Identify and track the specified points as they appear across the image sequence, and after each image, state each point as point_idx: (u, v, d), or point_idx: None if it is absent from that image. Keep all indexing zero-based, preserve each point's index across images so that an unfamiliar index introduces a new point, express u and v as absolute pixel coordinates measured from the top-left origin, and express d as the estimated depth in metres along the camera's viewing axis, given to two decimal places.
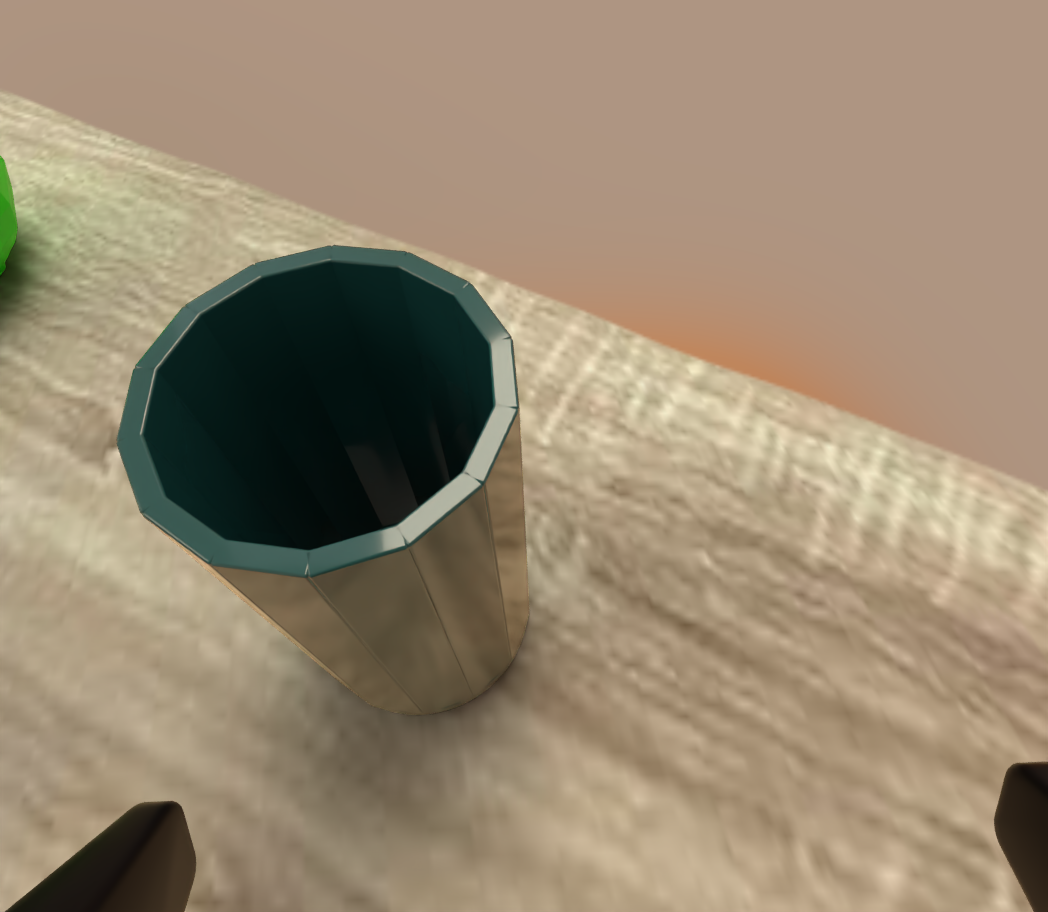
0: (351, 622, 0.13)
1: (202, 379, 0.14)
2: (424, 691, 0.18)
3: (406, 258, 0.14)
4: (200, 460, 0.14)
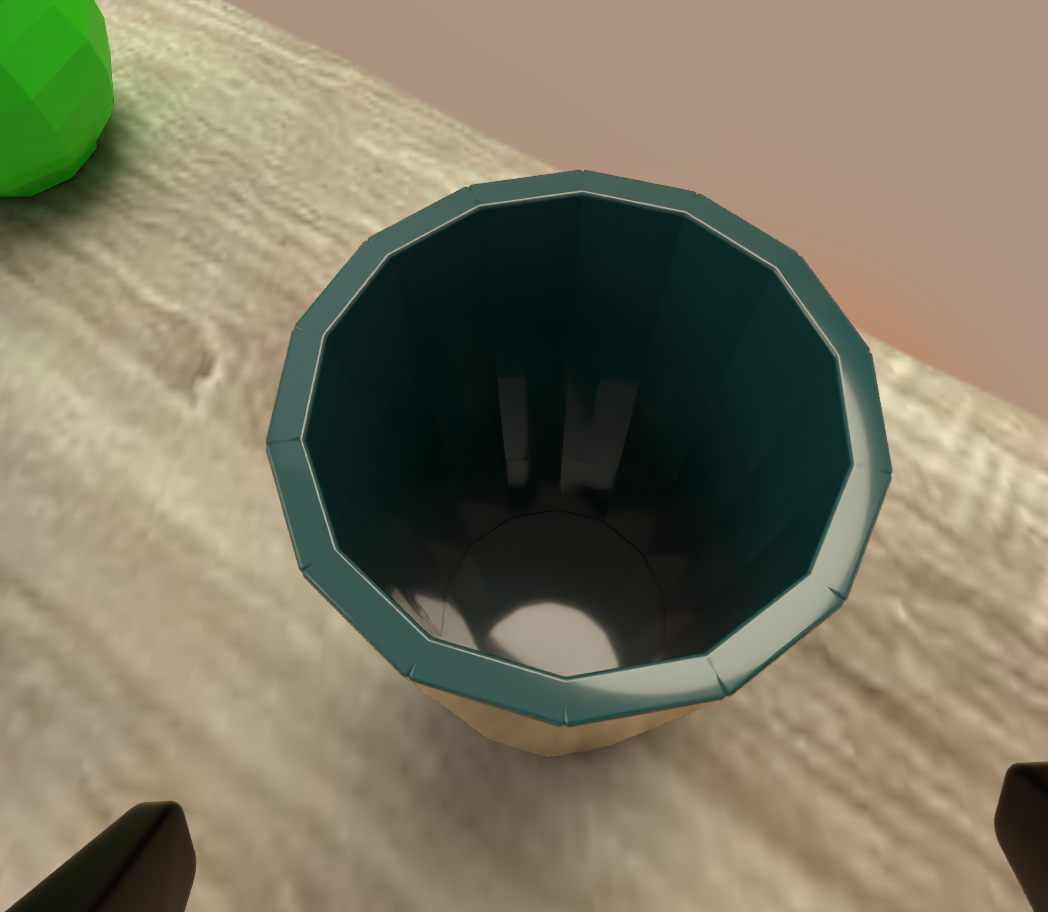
0: (563, 738, 0.09)
1: (375, 348, 0.09)
2: None
3: (696, 203, 0.09)
4: (358, 461, 0.10)
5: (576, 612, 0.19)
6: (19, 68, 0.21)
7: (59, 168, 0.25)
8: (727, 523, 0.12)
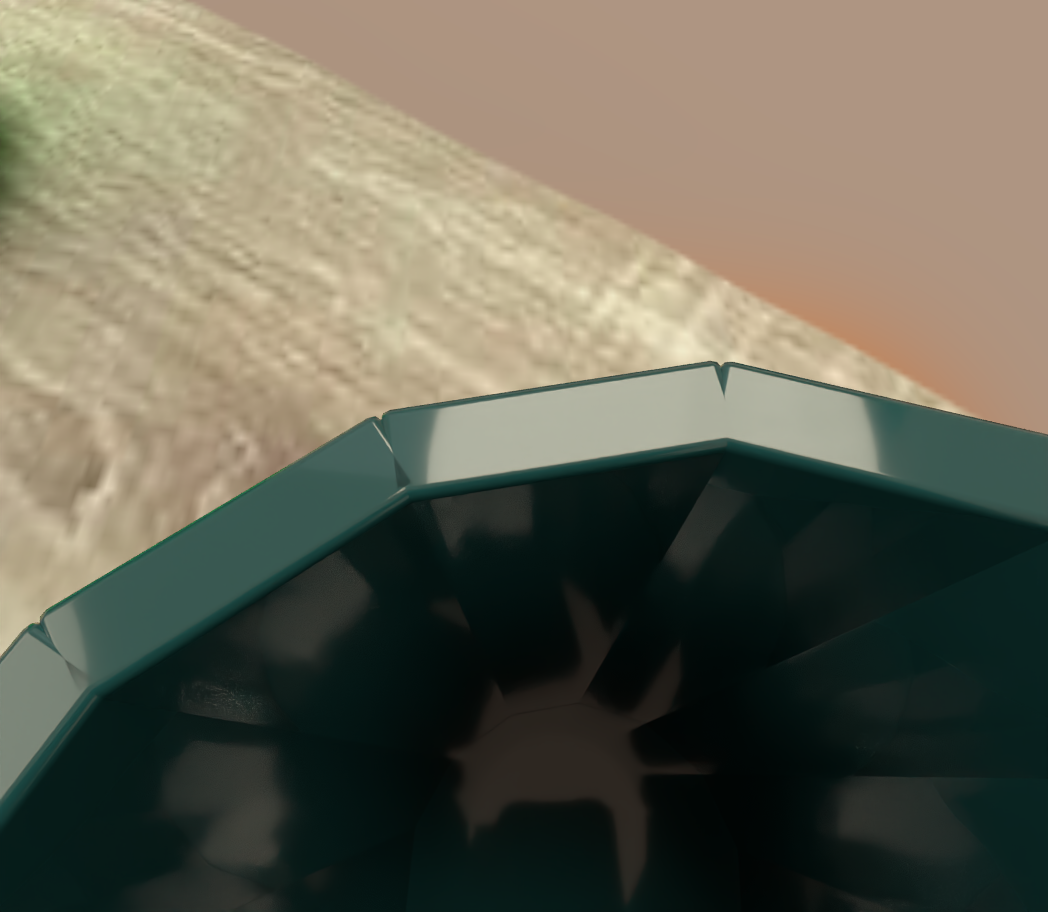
0: None
1: (119, 863, 0.03)
2: None
3: None
4: None
5: (607, 875, 0.13)
6: None
7: None
8: None
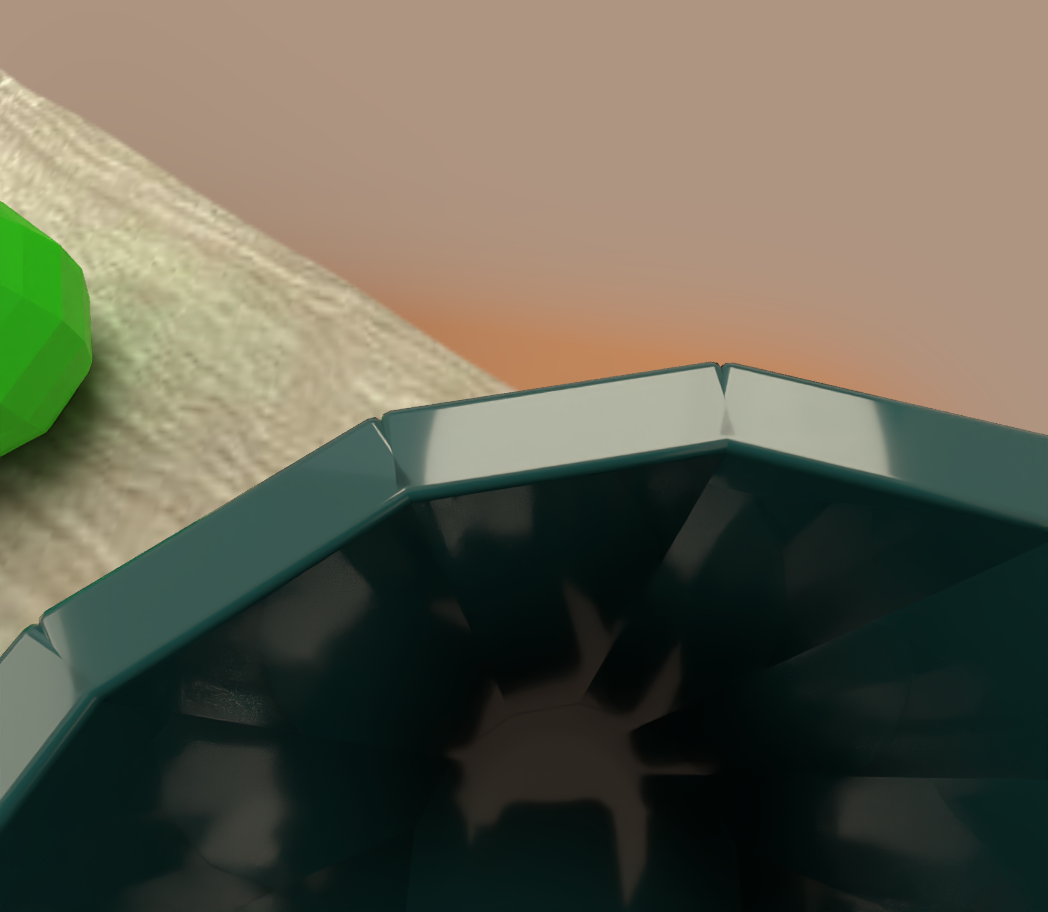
0: None
1: (119, 864, 0.03)
2: None
3: None
4: None
5: (607, 875, 0.13)
6: None
7: (33, 438, 0.23)
8: None
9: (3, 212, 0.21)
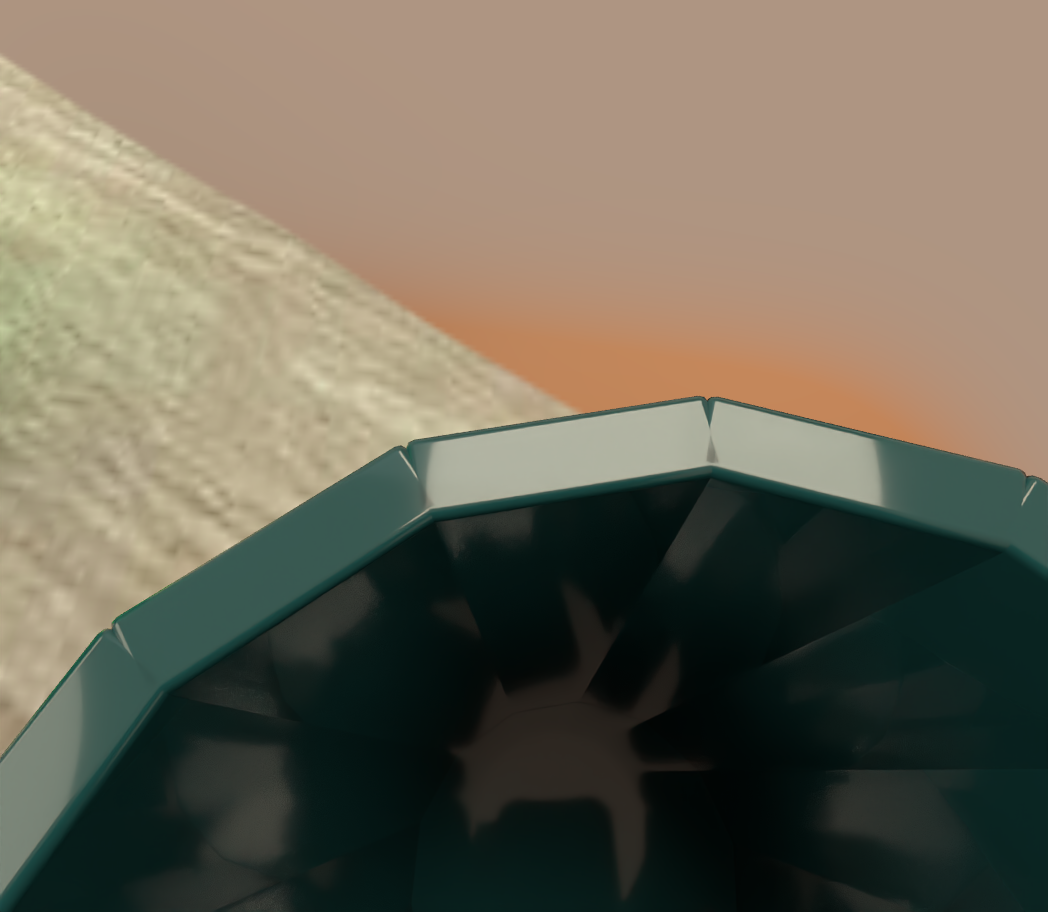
0: None
1: (171, 842, 0.04)
2: None
3: (1035, 508, 0.03)
4: None
5: (606, 868, 0.13)
6: None
7: None
8: None
9: None
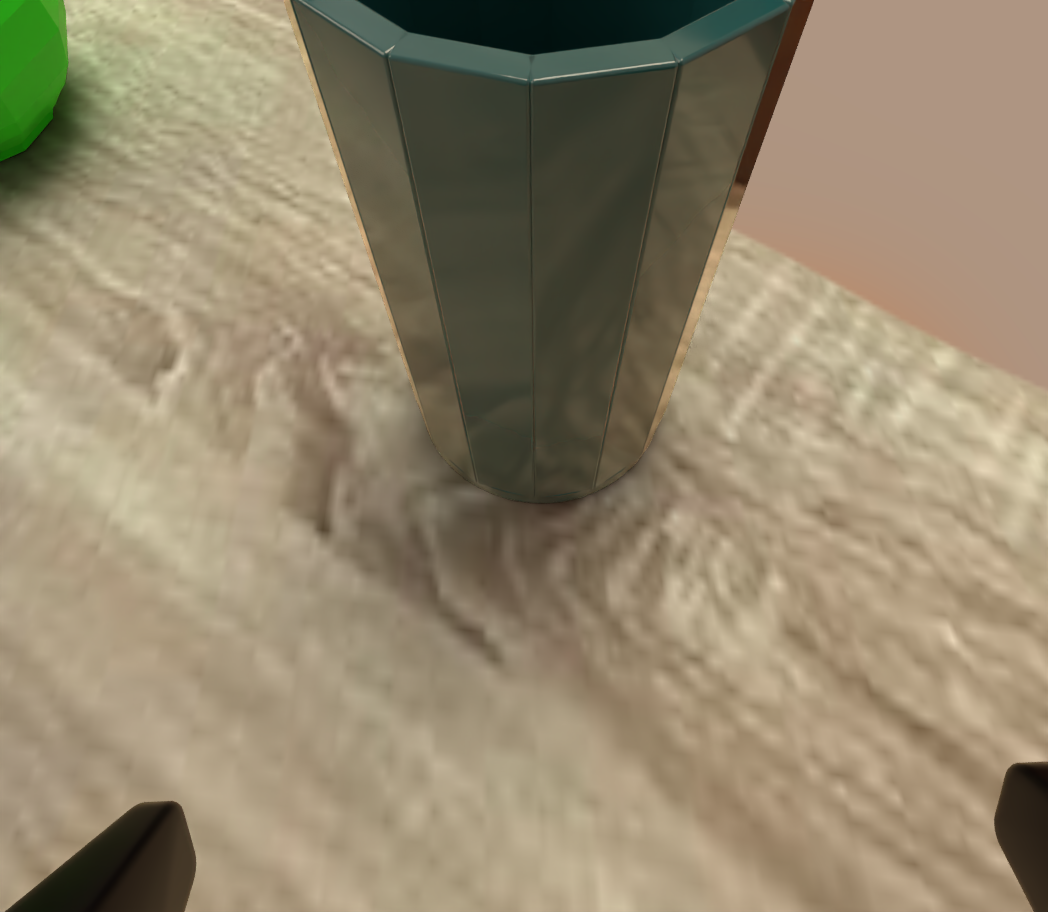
0: (537, 248, 0.09)
1: None
2: (552, 452, 0.15)
3: None
4: None
5: None
6: None
7: (7, 138, 0.22)
8: None
9: None
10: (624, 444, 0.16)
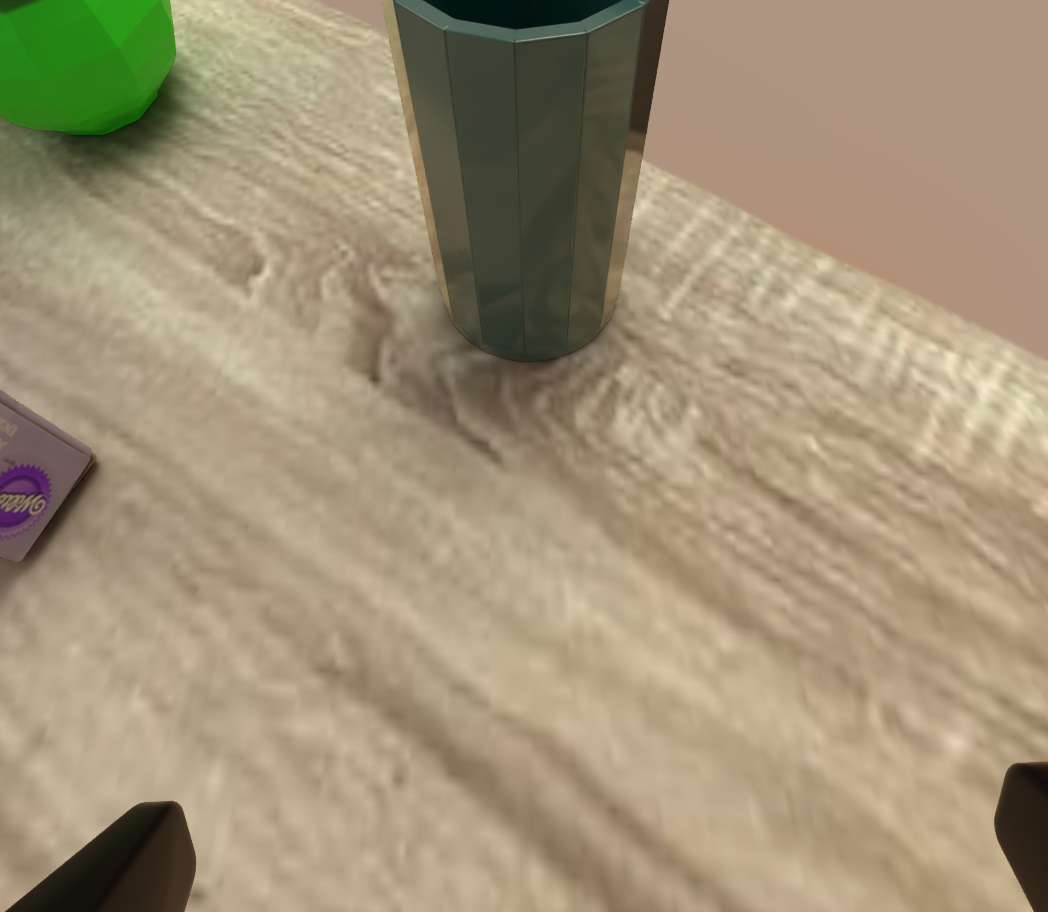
0: (520, 140, 0.17)
1: None
2: (535, 307, 0.23)
3: None
4: None
5: None
6: (109, 20, 0.27)
7: (132, 108, 0.30)
8: None
9: None
10: (585, 308, 0.24)
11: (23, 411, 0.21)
